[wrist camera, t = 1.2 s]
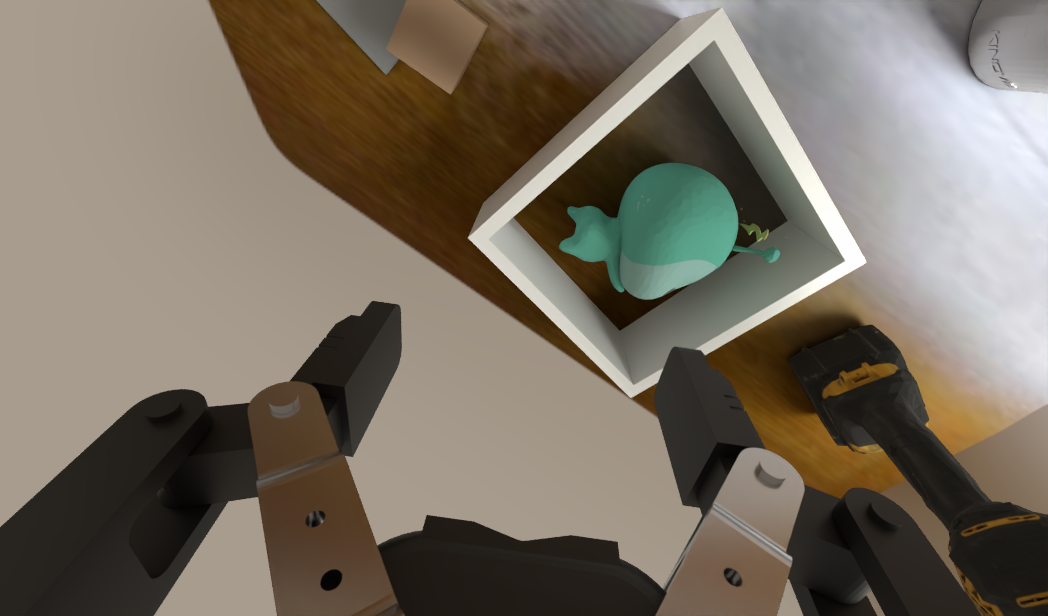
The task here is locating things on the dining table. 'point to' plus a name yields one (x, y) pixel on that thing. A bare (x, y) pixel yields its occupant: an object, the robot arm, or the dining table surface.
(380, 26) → the mat
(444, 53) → the walnut cube
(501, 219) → the toy caddy
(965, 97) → the dining table surface
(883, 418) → the power drill
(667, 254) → the toy
